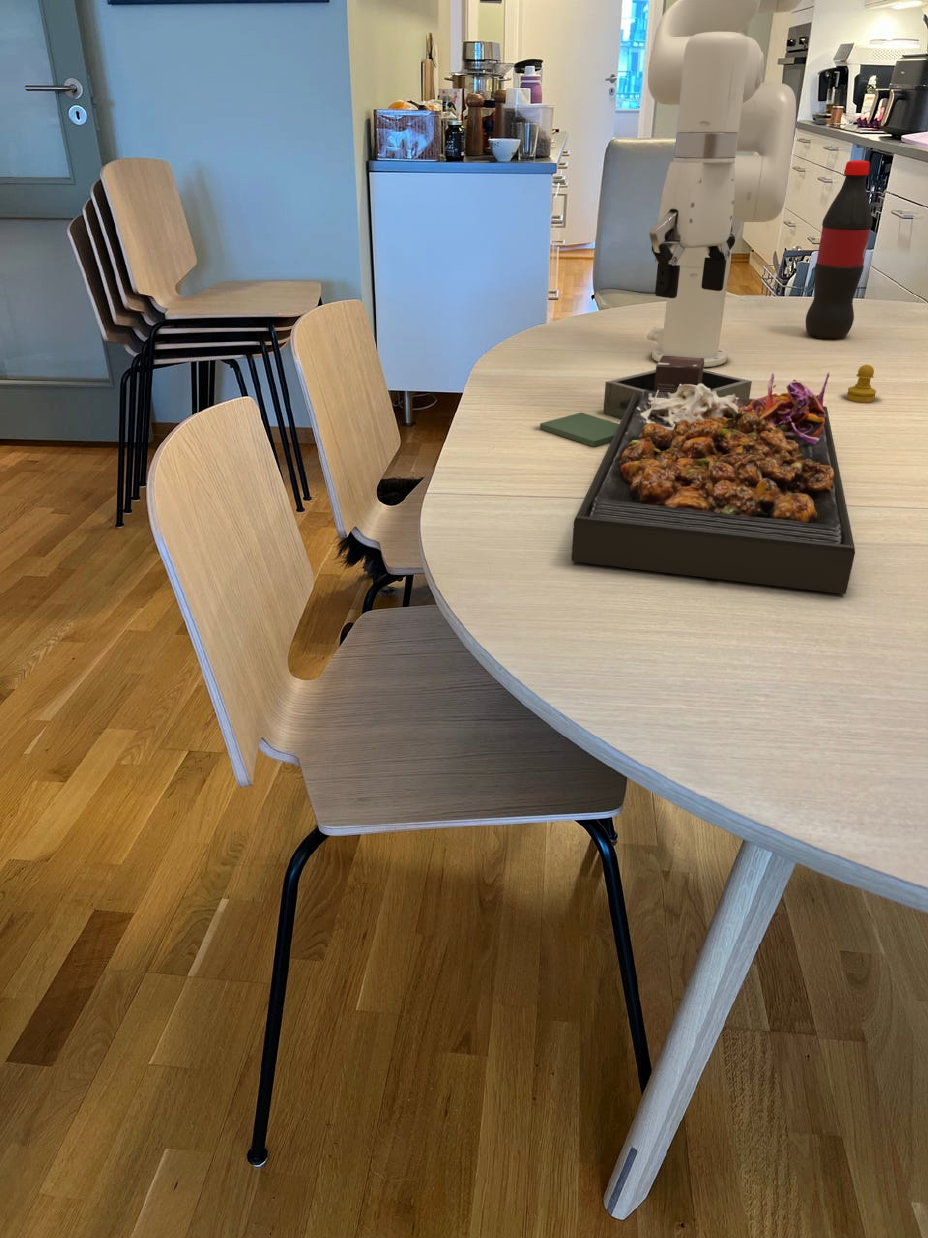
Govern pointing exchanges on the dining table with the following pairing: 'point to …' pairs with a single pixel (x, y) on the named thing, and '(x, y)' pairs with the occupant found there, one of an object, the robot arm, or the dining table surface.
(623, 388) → the dark grey tray
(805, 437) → the food platter
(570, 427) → the mat
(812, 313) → the cola bottle
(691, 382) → the box
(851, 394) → the chess piece
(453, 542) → the dining table surface
